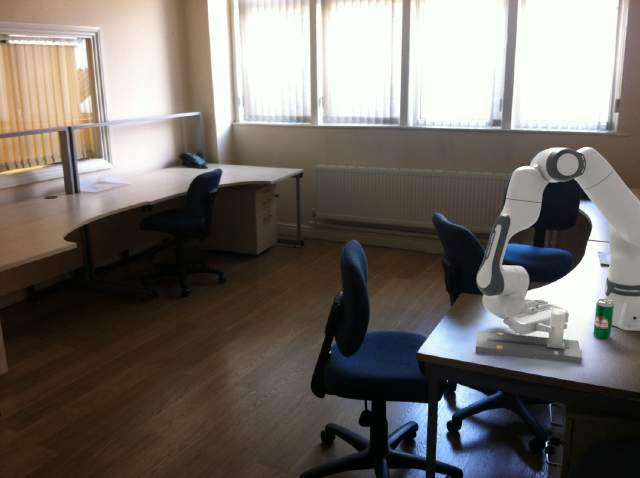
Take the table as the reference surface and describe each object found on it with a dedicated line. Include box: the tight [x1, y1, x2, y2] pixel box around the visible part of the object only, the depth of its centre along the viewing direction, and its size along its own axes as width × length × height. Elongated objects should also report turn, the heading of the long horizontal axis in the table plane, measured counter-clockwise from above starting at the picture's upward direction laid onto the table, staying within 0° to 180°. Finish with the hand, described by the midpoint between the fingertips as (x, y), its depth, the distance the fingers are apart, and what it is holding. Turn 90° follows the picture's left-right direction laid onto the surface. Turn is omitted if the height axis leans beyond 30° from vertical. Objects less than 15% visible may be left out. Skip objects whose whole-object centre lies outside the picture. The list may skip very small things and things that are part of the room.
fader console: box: [475, 330, 583, 365], centre depth 195 cm, size 30×12×2 cm, turn 73°
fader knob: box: [545, 311, 565, 349], centre depth 191 cm, size 5×5×10 cm
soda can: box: [593, 298, 614, 340], centre depth 202 cm, size 5×5×12 cm
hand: (559, 328), depth 190 cm, fingers closed on fader knob, 4 cm apart
